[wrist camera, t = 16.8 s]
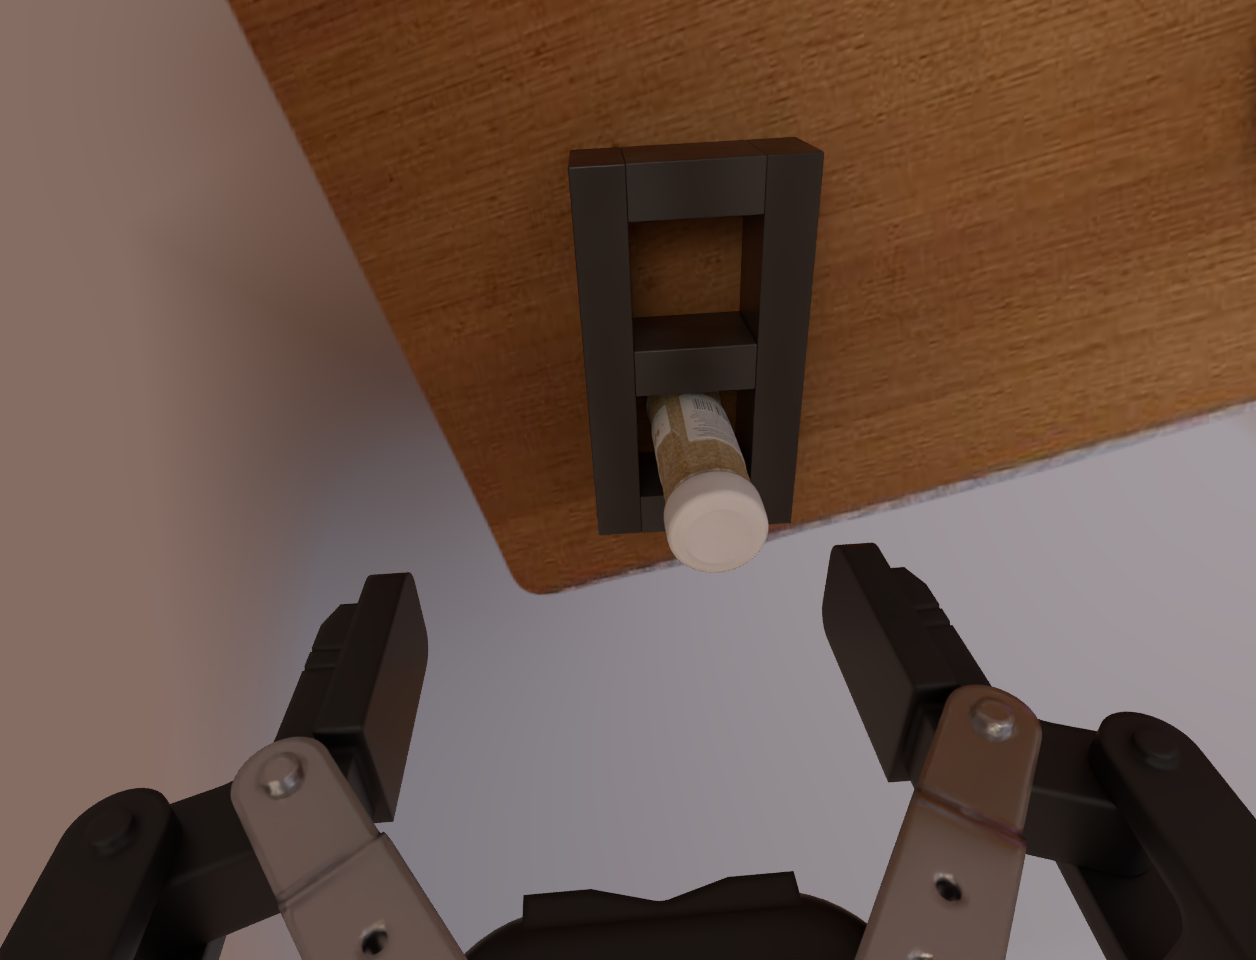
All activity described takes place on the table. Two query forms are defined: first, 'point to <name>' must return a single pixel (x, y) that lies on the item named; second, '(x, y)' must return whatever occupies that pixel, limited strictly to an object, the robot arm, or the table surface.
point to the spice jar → (704, 483)
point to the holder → (696, 343)
